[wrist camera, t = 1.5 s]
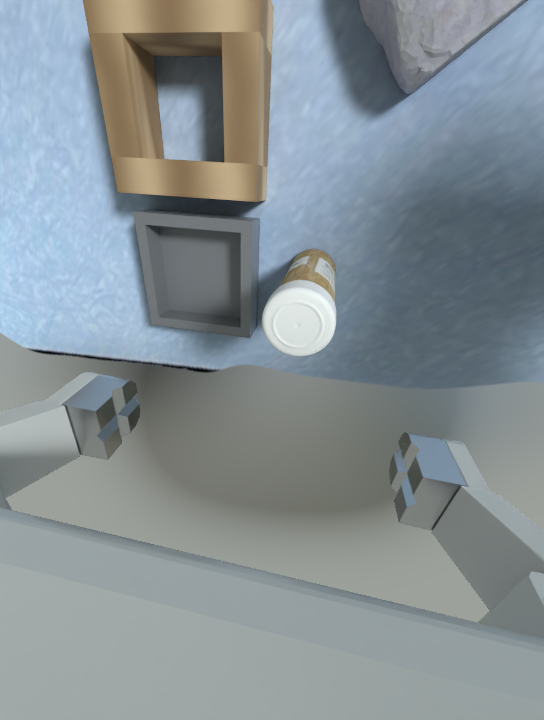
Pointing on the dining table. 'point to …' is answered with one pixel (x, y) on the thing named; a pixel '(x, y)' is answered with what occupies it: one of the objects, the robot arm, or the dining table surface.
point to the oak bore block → (140, 99)
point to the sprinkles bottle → (303, 306)
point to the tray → (200, 270)
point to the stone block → (429, 32)
